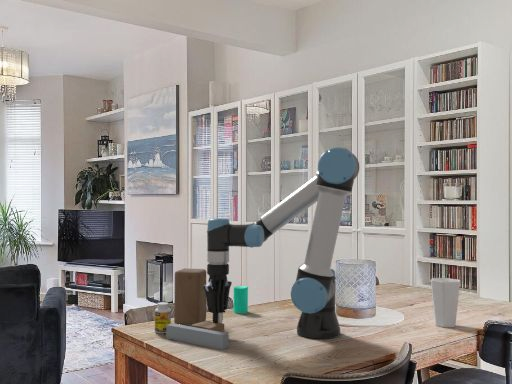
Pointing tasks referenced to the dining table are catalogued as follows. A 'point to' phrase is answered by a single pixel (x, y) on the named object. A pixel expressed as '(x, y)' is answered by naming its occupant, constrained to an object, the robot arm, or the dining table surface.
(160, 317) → the supplement bottle
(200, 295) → the wooden block
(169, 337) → the board
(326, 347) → the dining table surface
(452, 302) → the cup
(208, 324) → the walnut block
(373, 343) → the dining table surface
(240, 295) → the candle
